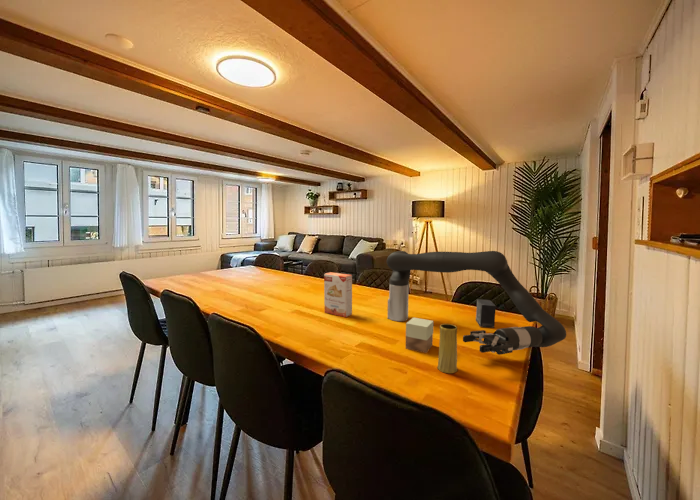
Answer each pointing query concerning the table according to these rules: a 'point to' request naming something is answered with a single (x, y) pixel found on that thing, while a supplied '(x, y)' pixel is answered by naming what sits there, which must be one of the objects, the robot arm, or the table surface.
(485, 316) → the small box
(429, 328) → the tower top block
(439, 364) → the vase
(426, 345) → the tower base block
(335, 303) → the cracker box
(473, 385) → the table surface
